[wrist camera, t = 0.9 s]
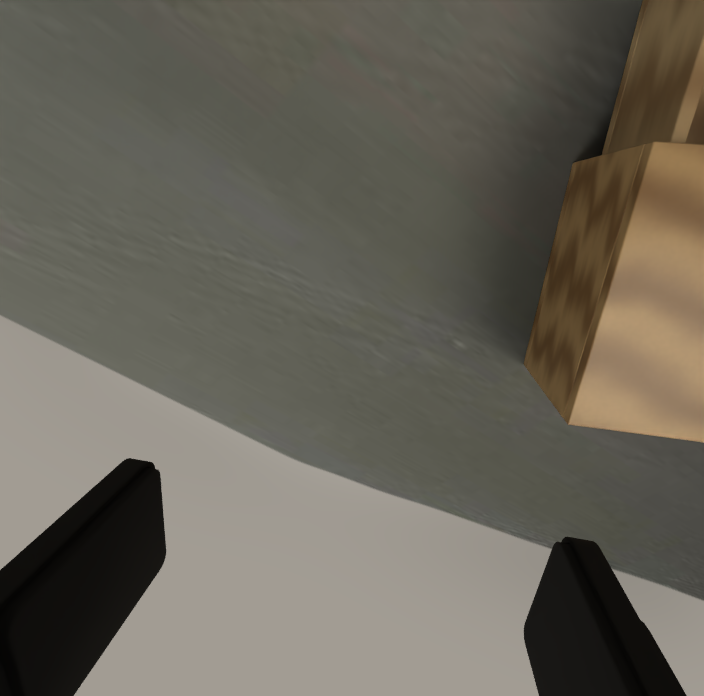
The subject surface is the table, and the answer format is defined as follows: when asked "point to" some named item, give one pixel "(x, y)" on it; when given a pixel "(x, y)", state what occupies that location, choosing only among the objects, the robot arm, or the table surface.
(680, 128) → the drawer
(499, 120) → the table surface
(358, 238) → the table surface
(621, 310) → the cabinet
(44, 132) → the table surface
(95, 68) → the table surface
